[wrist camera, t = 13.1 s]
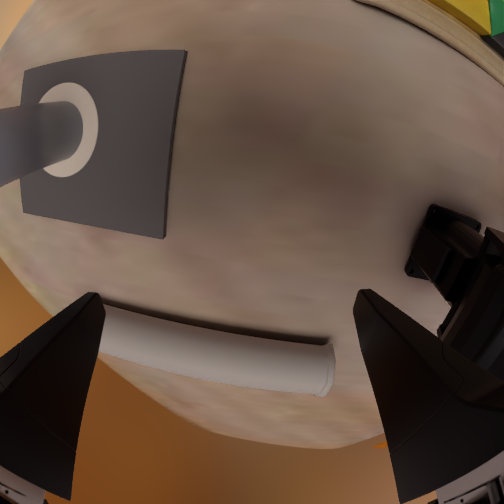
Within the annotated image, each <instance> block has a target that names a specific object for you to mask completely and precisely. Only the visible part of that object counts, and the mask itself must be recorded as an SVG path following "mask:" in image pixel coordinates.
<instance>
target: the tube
mask: <svg viewBox="0 0 504 504" xmlns="http://www.w3.org/2000/svg"><path fill="white" fill-rule="evenodd" d="M103 305H104V308H105V311H106V318H105V322H104V327H103V332H102V337H101V342H100V347H99V351H100V352H103V353H106V354H109V355H112V356H115V357H118V358H121V359H125V360H128V361H131V362H135V363H138V364H142V365H145V366H149V367H152V368H156V369H160V370H164V371H168V372H172V373H176V374H180V375H185V376H189V377H194V378H199V379H204V380H209V381H214V382H220V383H225V384H231V385H237V386H244V387H251V388H258V389H266V390H275V391H284V392H295V393H308V394H313V395H315V396H320V397H325V396H326V394H327V393H328V391H329V390H330V388H331V387H332V385H333V381H334V373H335V363H336V360H335V355H334V349H333V345H332V344H325V345H322V346H321V345H311V344H303V343H294V342H286V341H279V340H272V339H265V338H258V337H252V336H245V335H239V334H233V333H228V332H222V331H217V330H211V329H206V328H201V327H196V326H191V325H186V324H182V323H177V322H173V321H168V320H164V319H159V318H155V317H151V316H147V315H143V314H139V313H135V312H131V311H127V310H123V309H120V308H116V307H112V306H109V305H105V304H103Z"/></svg>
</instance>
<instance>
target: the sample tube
mask: <svg viewBox="0 0 504 504" xmlns="http://www.w3.org/2000/svg"><path fill="white" fill-rule="evenodd" d="M82 135H83V121H82V117H81V114H80V111H79V110H78V108H77V107H76V106H75V105H74V104H73V103H71V102H68V101H57V102H46V103H37V104H29V105H22V106H16V107H10V108H4V109H0V187H2V186H4V185H6V184H8V183H10V182H12V181H14V180H17V179H19V178H21V177H23V176H26V175H28V174H30V173H33V172H35V171H37V170H40V169H42V168H45V167H47V166H50V165H53V164H55V163H58V162H61V161H63V160H66V159H68V158H70V157H71V156H72V155H73V154H74V153H75V152H76V151H77V149H78V147H79V145H80V143H81V140H82Z"/></svg>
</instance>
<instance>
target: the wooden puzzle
mask: <svg viewBox="0 0 504 504" xmlns="http://www.w3.org/2000/svg"><path fill="white" fill-rule="evenodd" d="M356 1H359V2H363V3H367V4H370V5H374V6H377V7H379V8H382V9H384V10H386V11H388V12H391V13H393V14H395V15H397V16H399V17H401V18H403V19H405V20H407V21H409V22H411V23H413V24H415V25H417V26H419V27H420V28H422V29H424V30H426V31H428V32H429V33H431V34H433V35H434V36H436V37H438V38H439V39H441V40H443V41H444V42H446V43H447V44H449V45H450V46H452V47H453V48H455V49H456V50H458V51H459V52H461V53H462V54H463V55H465V56H466V57H468V58H469V59H470V60H472V61H473V62H474V63H476V64H477V65H478V66H480V67H481V68H482V69H483V70H485V71H486V72H487V73H488V74H489V75H491V76H492V77H493V78H494V79H495V80H497V81H498V82H499V83H500V84H501V85H503V86H504V0H356Z"/></svg>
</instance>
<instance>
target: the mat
mask: <svg viewBox="0 0 504 504" xmlns="http://www.w3.org/2000/svg"><path fill="white" fill-rule="evenodd" d="M186 56H187V51H185V50H148V51H131V52H119V53H109V54H101V55H94V56H87V57H81V58H76V59H70V60H65V61H61V62H56V63H52V64H48V65H44V66H40V67H36V68H32V69H29V70H25V71H24V78H23V85H22V94H21V104H20V106H22V105H29V104H37V103H46V102H57V101H68V102H71V103H73V104H74V105H75V106H76V107H77V108H78V110H79V111H80V114H81V117H82V121H83V135H82V140H81V143H80V145H79V147H78V149H77V151H76V152H75V153H74V154H73V155H72V156H71V157H70V158H68V159H66V160H63V161H61V162H58V163H55V164H53V165H50V166H47V167H45V168H42V169H40V170H37V171H35V172H33V173H30V174H28V175H26V176H23V177H21V178H20V187H21V197H22V206H23V213H27V214H32V215H37V216H43V217H48V218H53V219H58V220H63V221H69V222H74V223H79V224H84V225H90V226H95V227H100V228H105V229H111V230H116V231H121V232H126V233H132V234H137V235H142V236H148V237H153V238H158V239H164V237H165V236H166V216H167V200H168V186H169V175H170V164H171V154H172V145H173V137H174V129H175V121H176V114H177V107H178V101H179V95H180V89H181V83H182V77H183V72H184V66H185V61H186Z"/></svg>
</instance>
